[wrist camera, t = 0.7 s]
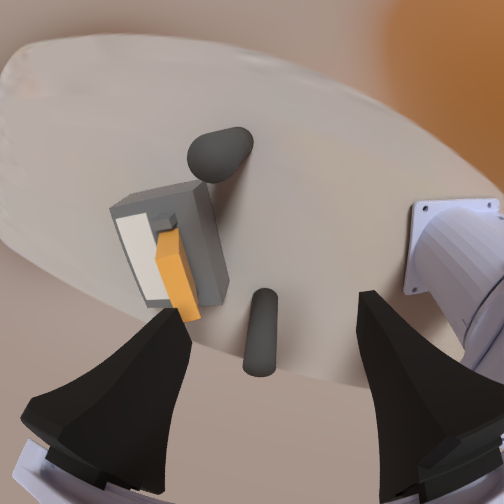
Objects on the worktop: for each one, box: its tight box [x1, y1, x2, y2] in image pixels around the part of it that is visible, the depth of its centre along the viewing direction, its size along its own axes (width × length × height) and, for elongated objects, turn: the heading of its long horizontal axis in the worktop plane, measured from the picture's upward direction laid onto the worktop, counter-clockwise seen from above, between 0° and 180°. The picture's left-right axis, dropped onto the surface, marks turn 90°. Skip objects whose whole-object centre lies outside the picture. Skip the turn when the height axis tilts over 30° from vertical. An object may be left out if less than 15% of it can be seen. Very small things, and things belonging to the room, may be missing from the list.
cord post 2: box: [243, 288, 278, 377], centre depth 18 cm, size 2×2×7 cm
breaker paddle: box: [155, 228, 201, 323], centre depth 15 cm, size 1×4×4 cm, turn 10°
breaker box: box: [109, 180, 229, 308], centre depth 18 cm, size 6×8×4 cm
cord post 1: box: [187, 127, 254, 183], centre depth 13 cm, size 2×2×7 cm
